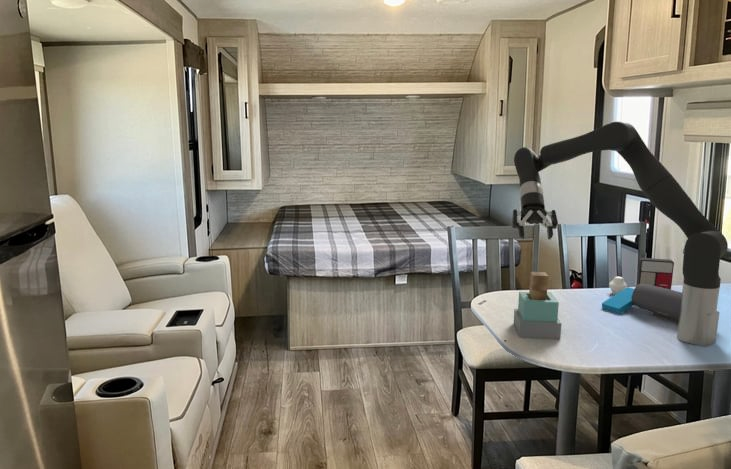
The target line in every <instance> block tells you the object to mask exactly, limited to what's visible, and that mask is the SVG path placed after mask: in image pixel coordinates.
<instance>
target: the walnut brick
mask: <svg viewBox="0 0 731 469" xmlns="http://www.w3.org/2000/svg"><path fill="white" fill-rule="evenodd" d="M548 285H549V275H548V274H547V272H545V271H543V272H542V271H530V276H529V288H528V289H529V290H528V292H529V299H530V300H547V292H548Z"/></svg>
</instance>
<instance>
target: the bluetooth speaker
mask: <svg viewBox="0 0 731 469" xmlns="http://www.w3.org/2000/svg"><path fill="white" fill-rule="evenodd" d="M633 289H634V291H633V294H632V303H633V305H634V306H635V308H636V307H637V308H639V309H641V310H644V311H646V312H650V313H652V316H653V317H656V318H658V319H661V320H664V321H667V322H670V323H674V324H675V323H676V324H678V323H679V315H680V306H681V298H682V292H680V291H677V290H673V289H671V290H670V289H666V288H662V287H657V286H652V285H647V284H638V285H637V284H636V286H635V288H633ZM634 306H633V307H634Z"/></svg>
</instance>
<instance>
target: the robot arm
mask: <svg viewBox="0 0 731 469" xmlns="http://www.w3.org/2000/svg"><path fill="white" fill-rule="evenodd" d="M599 151H601V152H602V151H613V152H614V151H615V152H617V153H618V154H619V155H620V157H621V158H623V160H624V161H625V162H626V163H627V165H629V168H630V169H631V170H632V173H633V175H634V177H635V179H636V180H635V181H636V183H637V184H638V186H639V188H640V190H641V191H642V193H643V194H644V196H645V197H646V198H647V199H648V200H649V202H650V204H651V205H653V206H654V208H656V210H658V211H659V212H660V213H661V214H663V216H665V217H667V218H669V220H671V221H672V222H674V223H675V224H676V226H678V227H679V228H680V230H681V231H682V232H683V234H684V235H685V237H686V238H687V240H686V241H685V244H684V250H683V257H682V258H683V260H682V276H683V282H682V292H681V293H682V298H681V306H680V315H679V323H677V330H676V331H677V334H676V337H677V339H679V341H681V342H684V343H687V344H691V345H699V346H703V347H709V346H710V345H713V344H714V343H716V341H717V335H718V326H719V319H720V311H718V310H717V309H718V302H719V294H720V289H721V282H722V281H721V277H720V273H719V271H720V263H721V261H720V260H721V258H722V257H724V256H725V255H726V254H727V251H728V248H729V244H728V240H727V239H726V237H725V235H724V234H723V233H722V232H721V231H720V230H719V229H718V228H717V227H716V226H715V225H714V224H713V223H712V222H711V221H710V220H709V219H708V218H706V217H705V215H704V214H703V213H702V212H701V211H700V209H699V208H698V207H697V206H696V204H695V203H694V202H693V200H692V199H691V197H690V196H689V195H688V194H687V192H686V191H685V190H684V189H683V188H682V186H681V185H680V183H679V181H677V179H675V177H674V176H673V175H672V173H670V171H669V170H668V169H667V168H666V167H665V166H664V165H663V163H661V162H660V160H659V159H658V158H657V157H656V156H655V155H654V154H653V153H652V152H651V151H650V149H649V148H648V146H647V144H646V143H645V141H644V140H643V139H642V137H641V135H640V134H639V132H638V130H637V129H636V128H635V127H634V125H632V124H631V123H629V122H625V121H622V120H621V121H620V120H615V121H614V120H613V121H611V122H608V123H607V124H605V125H603V126H600V127H597V128H596V129H594V130H592V131H590V132H589V131H588V132H587V133H584V134H581V135H579V136H574V137H572V138H567V139H563V140H560V141H556V142H553V143H549V144H547V145H544V146H542V147H541V148H540V151H539V155H537V154H536V153H535V152H534V151H533V150H532V149H531V148H529V147H527V146H524V147H520V148H519V149H518V150H516V152H515V153H514V156H513V162H514V167H515V170H516V173H517V176H518V178H519V200H520V207H521V209H520V210H521V211H520V210H519V211H518V210H517V209H513V211H512V214H511V217H512V218H511V222H512V223H511V225H512V226H511V227H512V228H513V229H517V230H518V236H519V238H521V239H522V240H524V238H525V228H524V227H525V226H526V225H527V224H529V225H533V224H535V225H541V227H543V228H544V227H545V229H546V232H547V233H546V234H547V235H546V236H547V239H548V240H551V239H552V238H553V237H554V230H556V229H557V227H558V226H559V225H558V224H559V222H558V218H557V217H558V216H557V212H556V210H555V209H552V210H551V211H547V210H546V207H545V199H544V198H545V197H544V192H543V191H544V190H543V188H542V181H541V180H542V179H541V175H540V173H539V172H541V171H543V170H544V169H547V168H548V167H550V166H552V165H556V164H560V163H565V162H567V161H570V160H573V159H575V158H578V157H580V156H582V155H585V154H589V153H593V152H599ZM519 217H521V218H522V220H521V221H520V222H518V218H519ZM549 219H550V220H549Z"/></svg>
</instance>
